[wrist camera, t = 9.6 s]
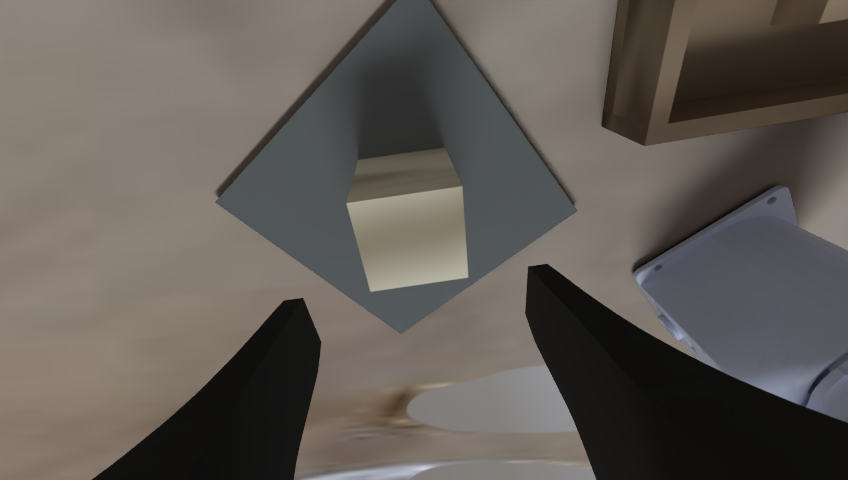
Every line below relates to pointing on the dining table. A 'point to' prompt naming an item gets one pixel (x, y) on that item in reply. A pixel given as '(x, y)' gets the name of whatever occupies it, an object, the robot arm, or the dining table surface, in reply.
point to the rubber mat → (389, 135)
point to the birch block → (409, 219)
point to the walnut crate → (724, 66)
